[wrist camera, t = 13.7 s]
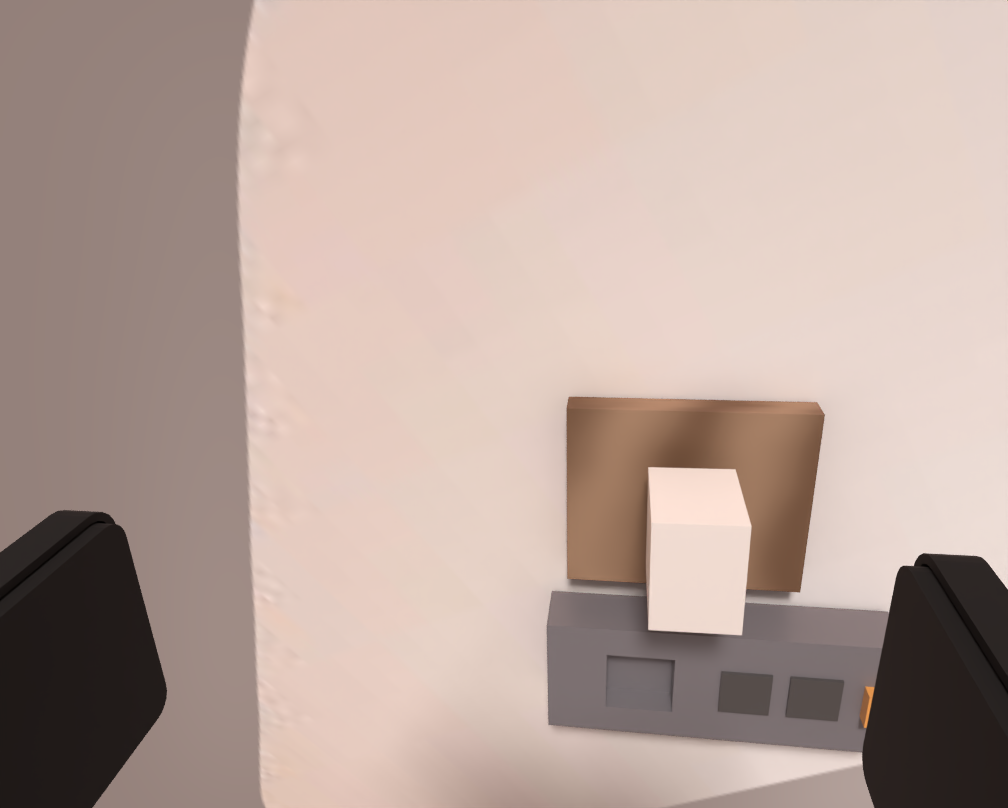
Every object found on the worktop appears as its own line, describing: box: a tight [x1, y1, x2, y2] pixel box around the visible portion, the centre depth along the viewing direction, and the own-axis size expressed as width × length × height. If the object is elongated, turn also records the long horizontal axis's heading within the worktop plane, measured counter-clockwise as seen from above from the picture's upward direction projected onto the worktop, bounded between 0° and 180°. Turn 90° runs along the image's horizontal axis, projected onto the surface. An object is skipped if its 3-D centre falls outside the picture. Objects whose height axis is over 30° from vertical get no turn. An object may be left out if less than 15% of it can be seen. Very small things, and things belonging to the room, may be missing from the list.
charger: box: [646, 467, 752, 635], centre depth 35 cm, size 4×6×6 cm
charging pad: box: [567, 397, 825, 592], centre depth 39 cm, size 12×10×2 cm
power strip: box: [547, 591, 889, 752], centre depth 41 cm, size 18×7×4 cm, turn 92°
